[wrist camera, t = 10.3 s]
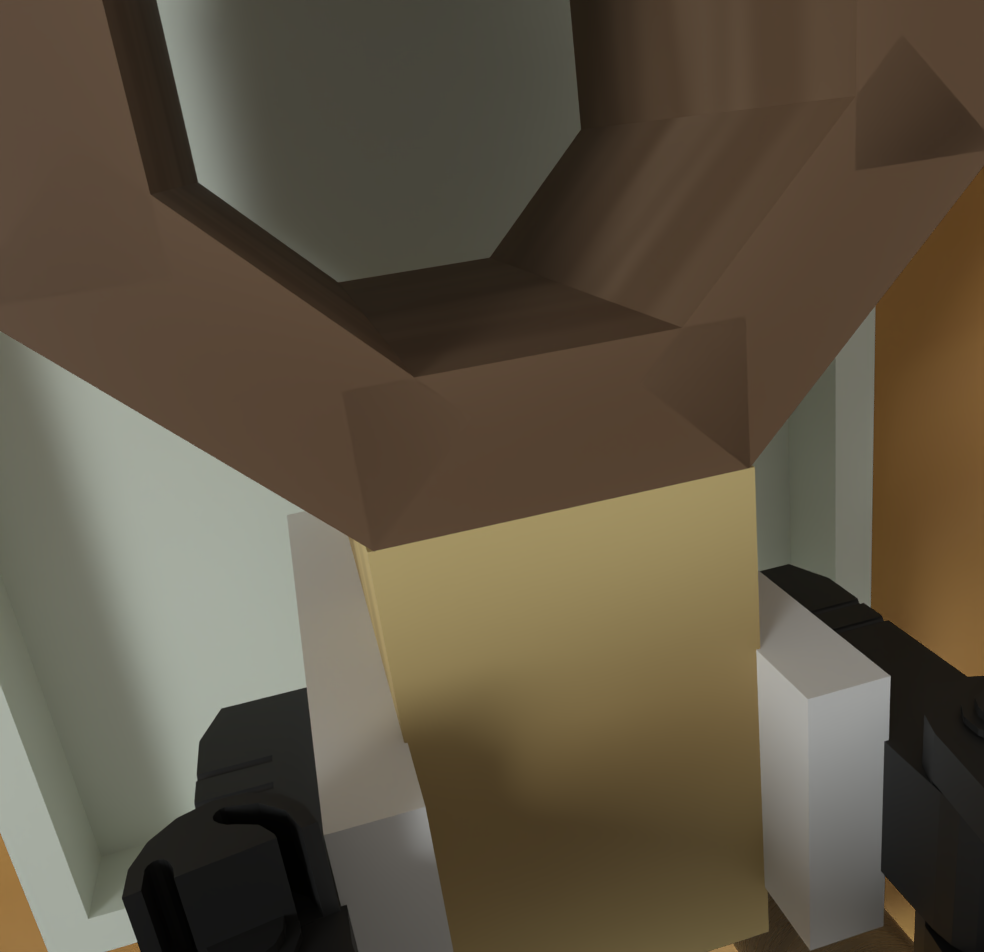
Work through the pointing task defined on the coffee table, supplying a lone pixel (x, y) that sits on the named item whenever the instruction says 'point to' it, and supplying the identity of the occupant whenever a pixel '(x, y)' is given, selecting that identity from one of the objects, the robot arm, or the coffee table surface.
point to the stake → (784, 948)
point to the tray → (240, 500)
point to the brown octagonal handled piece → (526, 406)
